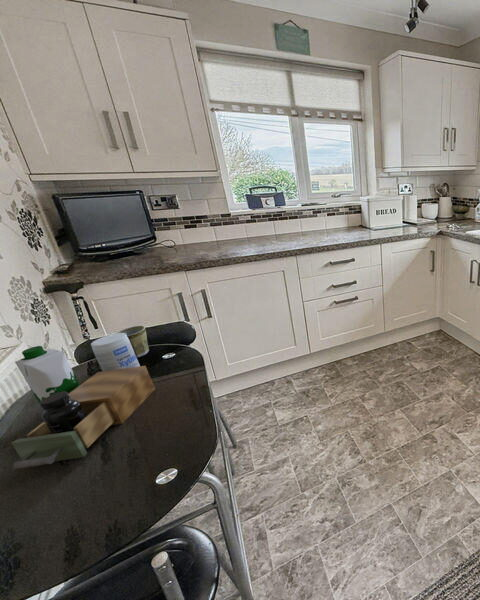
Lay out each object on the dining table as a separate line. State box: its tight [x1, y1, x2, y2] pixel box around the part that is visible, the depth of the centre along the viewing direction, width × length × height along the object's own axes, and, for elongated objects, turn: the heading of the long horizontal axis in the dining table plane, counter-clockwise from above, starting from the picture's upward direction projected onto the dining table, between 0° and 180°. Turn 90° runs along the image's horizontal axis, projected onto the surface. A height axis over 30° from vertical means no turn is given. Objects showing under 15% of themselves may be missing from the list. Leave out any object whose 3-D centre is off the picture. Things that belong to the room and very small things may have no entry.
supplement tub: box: [90, 332, 141, 372], centre depth 110 cm, size 10×10×15 cm
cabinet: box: [68, 365, 156, 427], centre depth 94 cm, size 16×14×9 cm
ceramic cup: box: [114, 325, 150, 359], centre depth 127 cm, size 13×10×10 cm
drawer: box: [11, 401, 116, 470], centre depth 81 cm, size 19×13×7 cm, turn 7°
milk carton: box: [14, 345, 81, 406], centre depth 95 cm, size 9×9×20 cm
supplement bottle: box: [39, 392, 87, 434], centre depth 81 cm, size 7×7×12 cm
